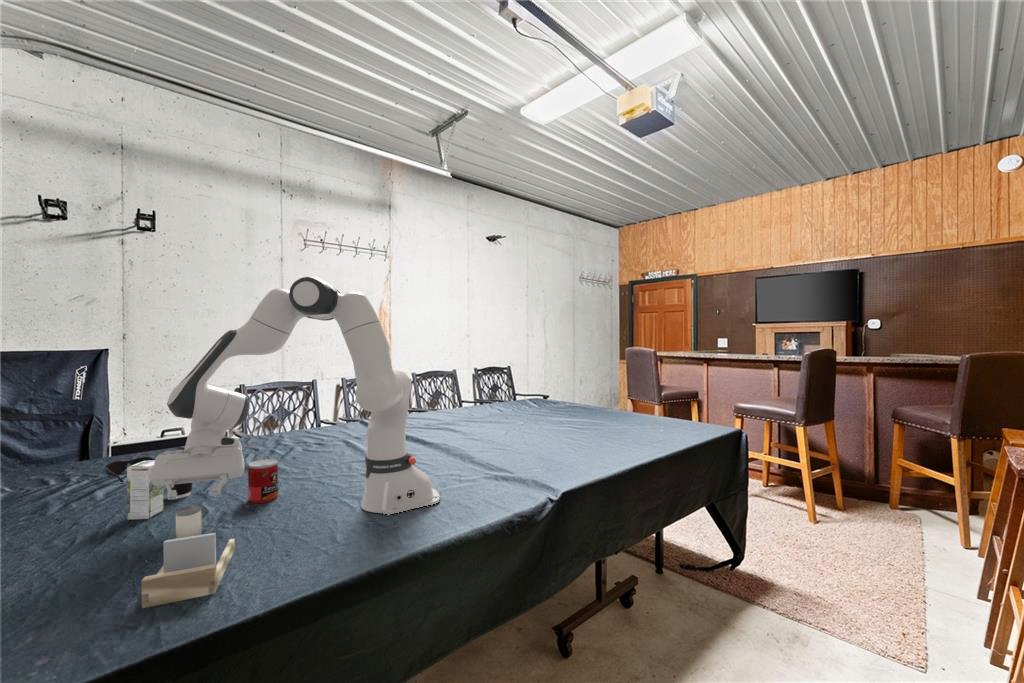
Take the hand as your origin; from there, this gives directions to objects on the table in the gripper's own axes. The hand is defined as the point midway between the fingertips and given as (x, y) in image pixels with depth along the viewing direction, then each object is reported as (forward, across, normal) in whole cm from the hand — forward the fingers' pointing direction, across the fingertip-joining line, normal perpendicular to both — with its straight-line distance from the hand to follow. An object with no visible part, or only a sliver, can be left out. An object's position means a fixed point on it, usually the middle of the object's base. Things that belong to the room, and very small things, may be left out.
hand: (194, 495), depth 108 cm
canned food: (-6, +13, +18) cm, 23 cm away
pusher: (+25, +6, -13) cm, 29 cm away
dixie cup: (-15, -11, +28) cm, 33 cm away
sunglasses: (-36, -33, +50) cm, 69 cm away
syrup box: (-5, -15, +18) cm, 24 cm away
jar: (+10, 0, +3) cm, 10 cm away
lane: (+24, +6, -12) cm, 27 cm away
